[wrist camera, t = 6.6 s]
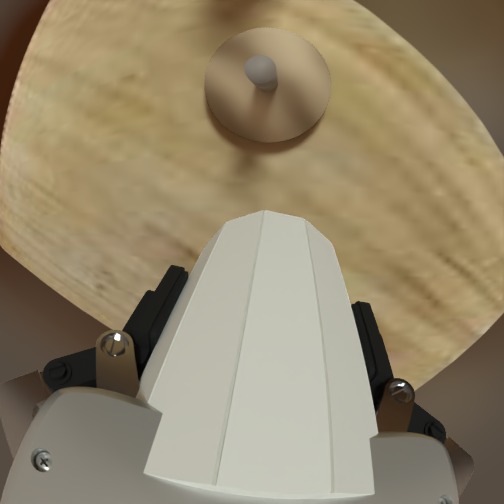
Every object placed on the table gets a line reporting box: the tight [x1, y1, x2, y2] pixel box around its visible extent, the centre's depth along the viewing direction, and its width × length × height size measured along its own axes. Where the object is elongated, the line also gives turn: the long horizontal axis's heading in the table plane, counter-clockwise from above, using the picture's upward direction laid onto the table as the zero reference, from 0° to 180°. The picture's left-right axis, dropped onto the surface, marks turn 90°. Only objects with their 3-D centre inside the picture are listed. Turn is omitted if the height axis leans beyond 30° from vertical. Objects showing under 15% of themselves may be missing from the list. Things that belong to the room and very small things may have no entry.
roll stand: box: [205, 27, 331, 142], centre depth 19 cm, size 12×12×10 cm
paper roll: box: [136, 210, 378, 499], centre depth 9 cm, size 7×7×11 cm
